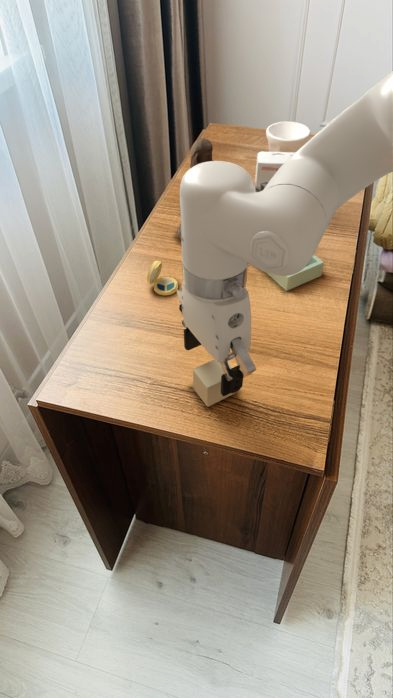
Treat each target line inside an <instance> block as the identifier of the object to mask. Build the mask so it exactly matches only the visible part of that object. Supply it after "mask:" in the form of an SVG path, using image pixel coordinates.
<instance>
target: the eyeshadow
mask: <svg viewBox="0 0 393 698" xmlns="http://www.w3.org/2000/svg"><path fill="white" fill-rule="evenodd" d="M162 270H163V263H162V261H161V260H155V261H154V262H153V263H152V264H151V266H150V268H149V270H148V272H147V276H146V281H147V283H148V284H150V285H153V290H154V292H155V293H156V294H157V295H160V296H170V295H171V296H172V295H173V294H175V293H177V290H179V282H178V280H177V279H175V278H174V277H170V276H163V277H160V278H159V276H160V275H161V272H162Z"/></svg>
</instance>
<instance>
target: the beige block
mask: <svg viewBox="0 0 393 698" xmlns="http://www.w3.org/2000/svg"><path fill="white" fill-rule="evenodd" d="M228 364H229V367H230V369H231V368H233V366H232V365H231V364H230V363H229V362H228ZM223 374H224V372H223V369H222V366H221V364H220V363H219V362H217V361H216V360H215V359H214V358H213V359H212V360H210V361H207V362H205V363H204V364H201V365H199V366H197V367H195V368H193V369H192V383H193V391H195V393H196V394H197V395H198V397H199V398H200V399H201V401H202V402H203V403H204V405H205V406H206V407H207V408H209V407H211V406H214V405H215V404H217V403H218V402H220V401H222V400H225V399H227V398H228V397H230V396H232V395H234V394H236V393H237V392H235V393H230V394H228V395H226V396H222V394H221V376H222V375H223Z"/></svg>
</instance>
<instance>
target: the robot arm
mask: <svg viewBox="0 0 393 698" xmlns="http://www.w3.org/2000/svg"><path fill="white" fill-rule="evenodd" d="M391 173H393V70H392V71H390V72H389V73H388V74H387V75H386V76H385V77H383V78H382V79H381V80H380V81H378V82H377V83H376V84H375V85H373V86H372V87H371V88H370V89H368V90H367V91H366V92H365V93H364V94H363V95H362V96H360V97H359V98H358V99H357V100H355V101H354V102H353V103H352V104H350V105H349V106H348V107H347V108H345V109H344V110H343V111H342V112H340V113H339V114H338V115H337V116H335V117H334V118H332V119H331V121H329V122H328V123H327V124H326V125H324V127H322V129H320V130H319V131H318V132H317V133H316V134H315V135H313V136H312V137H311V138H309V140H308V142H307V143H306V144H305V145H303V146H302V147H301V148H300V149H299V150H298V151H297V152H296V153H295V154H293V155H292V156H291V157H290V158H289V159H288V160H287V161H286V162H285V163H284V164H283V165H282V166H281V167H280V168H279V170H278V171H277V172H276V173H275V175H274V176H273V177H272V178H271V180H270V181H269V182H268V184H267V185H266V187H265V188H264V190H263V191H260V192H255V191H254V189H255V182H254V180H253V177H252V175H251V174H250V173H249V172H248V170H247V169H245V168H244V167H242V166H240V165H239V164H237V163H234V162H230V161H224V160H213V161H209V162H203V163H200V164H197V165H195V166H193V167H192V168H190V167H189V169H187V171H186V172H184V174H183V176H182V178H181V180H180V185H179V206H180V207H179V210H180V211H179V212H180V213H179V215H180V224H181V242H180V243H181V270H182V271H181V272H182V284H181V288H178V289H177V291H176V294H177V299H178V303H180V304H179V307H178V309H179V312H180V313H181V315H182V320H181V325H182V327H183V328H184V329H183V347H184V349H185V351H191V350H193V349H195V348H197V347H199V346H202V347H203V348H204V350H205V351H206V352H207V353H208V354H209V355H210V356H211V358H212V359H213V360H214V359H215V360H216V361H217V362H219V363H220V364H221V366H222V369H223V372H224V374H223V375H222V376H221V394H222V396H226V395H228V394H230V393H235V392H236V393H237V392H239V391H240V390H241V389H242V388H243V384H244V378H247V377H249V376H251V375H252V374H253V373H254V372H255V371H256V370H257V367H256V365H255V363H254V361H253V359H252V357H251V356H250V354H249V352H250V349H251V341H252V309H251V308H252V307H251V300H250V299H251V298H250V294H249V291H248V290H247V288H246V287H247V281H248V280H247V279H248V269H249V268H248V267H249V265H250V266H252V267H254V268H255V269H257V270H259V271H262V272H264V273H266V272H267V273H269V274H273V275H278V276H288V275H293V274H295V273H298V272H299V271H301V270H302V269H303V268H305V267H306V265H307V264H308V263H309V262H310V260H311V259H312V257H313V255H315V253H316V252H317V249H318V248H319V245H320V243H321V241H322V239H323V237H324V235H325V233H326V231H327V229H328V227H329V225H330V223H331V221H332V219H333V217H334V215H335V214H336V212H337V210H338V209H340V208H341V207H342V206H343V205H345V204H346V203H347V202H348V201H350V200H351V199H352V198H354V197H355V196H357V195H358V194H359V193H361V192H362V191H364V189H367V187H369V186H371V185H372V184H374V183H375V182H376V181H378V180H380V179H382V178H384V177H385V176H387V175H390V174H391ZM267 273H266V274H267ZM233 359H235V362H236V365H235V366H232V368H231V369H230V367H229V364H230V363H229V362H228V361H230V360H233ZM228 363H229V364H228ZM236 393H235V394H236Z"/></svg>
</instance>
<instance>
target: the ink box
mask: <svg viewBox="0 0 393 698" xmlns="http://www.w3.org/2000/svg"><path fill="white" fill-rule="evenodd" d="M293 154H295V153H294V152H269V151H264V150H263V151H259V152H257V153H256V166H255V177H254V191H255V192H260V191H263V190H264V188H265V187H266V185H267V184H268V182H269V181H270V180H271V178H272V177H273V176H274V175H275V173H276V172H277V171H278V170H279V168H280V167H281V166H282V165H283V164H284V163H285V162H286V161H287V160H288V159H289V158H290V157H291V156H292V155H293Z"/></svg>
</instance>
